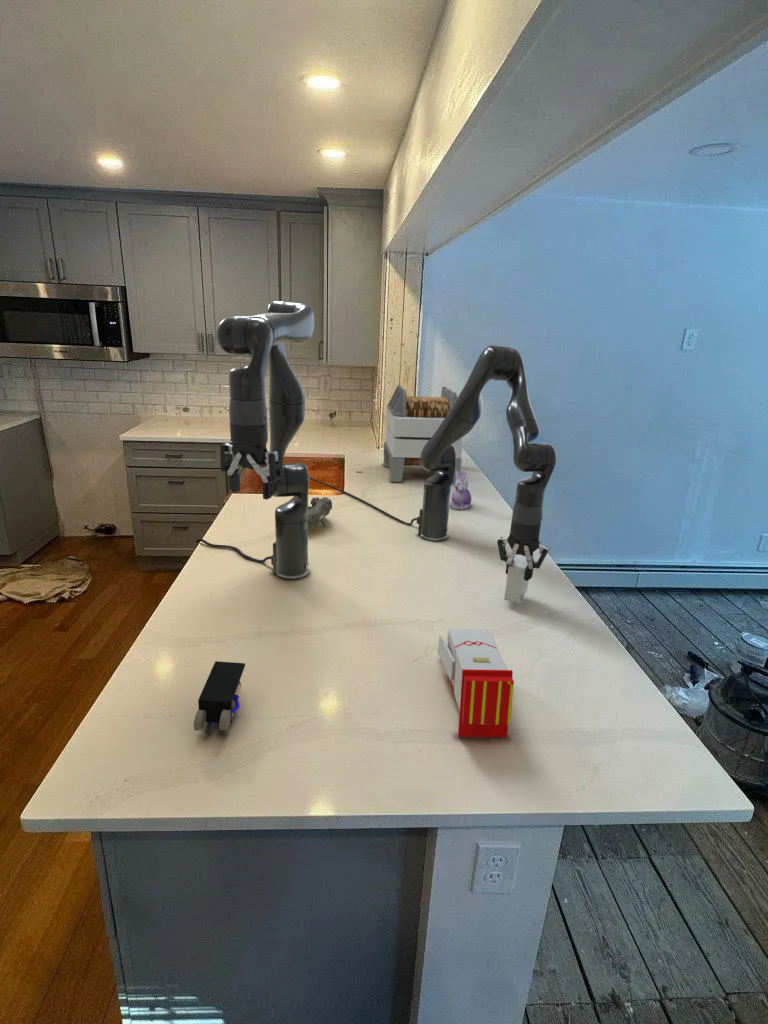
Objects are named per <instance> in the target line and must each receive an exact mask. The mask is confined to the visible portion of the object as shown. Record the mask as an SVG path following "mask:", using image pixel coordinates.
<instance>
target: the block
mask: <svg viewBox="0 0 768 1024" xmlns="http://www.w3.org/2000/svg"><path fill="white" fill-rule="evenodd" d="M527 568H528V564H527V561H526V556H523V555H517V554H516V555H515V557H514V559H513V561H512V562H511V564H510V565H509V567H508V574H506V575H507V576H506V584H505V592H504V599H503V600H505V601H509V602H513V603H517V604H521V603H522V600H523V599H524V597H525V595H526V593H527V592H528V588H529V582H530V581H529V580H530V579H529V580H528V581H526V573H527Z"/></svg>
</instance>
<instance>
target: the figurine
mask: <svg viewBox="0 0 768 1024" xmlns="http://www.w3.org/2000/svg"><path fill="white" fill-rule="evenodd" d="M466 478H467V470H466V469H464V470H463V471H462V473H461V474H460V473H459V471H456V481H455V483H453V485H454V491H453V492H452V493H451V500H450V507H451V508H452V509H454V510H461V511H462V510H467V509H468V508H470V507H471V502H472V495H471V492H470V491H469V489H468V487H469V483H468V480H467V479H466Z"/></svg>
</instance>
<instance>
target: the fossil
mask: <svg viewBox="0 0 768 1024" xmlns="http://www.w3.org/2000/svg"><path fill="white" fill-rule="evenodd" d="M310 505H311V506H309V505H308V533H309V532H311V531H312V530H314V529H315V528H316V527H317V526H318V525H319V524H322V525H323V526H324V527H325V526H326V524H325V523H324V519H325V518H326V517H327V516H329V514H330V512H331V510H332V509H333V501H332V500H331V499H330V498H328V497H327V496H325V497H321V498H320V497H312V498H311V500H310Z"/></svg>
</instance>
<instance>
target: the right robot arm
mask: <svg viewBox="0 0 768 1024" xmlns="http://www.w3.org/2000/svg"><path fill="white" fill-rule="evenodd" d="M489 381H497V382H498V381H499V382H505V383H506V384H507V386H508V388H509V391H510V395H509V398H508V402H507V405H506V409H505V418H506V422H507V425H508V427H509V431H510V434H511V437H512V461H513V464H514V466H515V467H516V469H517V470H518V471H520V472H523V473H532V474H531V475H530V476H528V477H525V478H522V479H520V480H519V481H518V482H517V484H516V490H515V499H514V504H513V507H512V515H511V520H510V521H511V522H510V530H509V535H508V537H503V536H499V538H498V539H497V541H496V543H497V548H498V554H499V559H500V561H502V562H505V563H506V566H505V574H506V575H508V567H509V565H510V564H511V562H512V561H513V559H514V558H515V556H516V555H521V556H525V557H526V561H527V564H528V568H527V573H526V581H528V580H531V579H532V578H533V575H534V574H533V573H534V569H540V568H541V566H542V564H543V562H544V560H545V558H546V556H547V554H548V553H549V551H550V547H549V546H544V545H542V544H541V542H540V533H541V532H540V531H541V526H542V520H543V509H544V508H543V506H544V497H545V492H546V488H547V486H548V485H549V482H550V479H551V477H552V474H553V472H554V470H555V467H556V465H557V462H558V461H557V460H558V455H557V454H558V453H557V451H556V448H555V447H554V446H553V445H552V444H551V443H542V442H541V443H531V442H533V441H535V440H537V439H538V437H539V436H540V433H541V430H540V425H539V423H538V421H537V418H536V415H535V413H534V410H533V407H532V405H531V400H530V395H529V391H528V384H527V378H526V372H525V366H524V362H523V358H522V355H521V353H520V351H518V350H517V349H516V348H513V347H509V346H502V345H495V344H491V345H490V344H489V345H487V346H486V347H483V349H482V351H481V352H480V353H479V355H478V357H477V359H476V361H475V362H474V365H473V367H472V369H471V371H470V374H469V375H468V378H467V380H466V381H465V384H464V385H463V387H462V389H461V390H460V392H459V394H458V395H457V399H456V400H455V402H454V403H453V405H452V407H451V408H450V410H449V412H448V413H447V415H446V417H445V419H444V420H443V422H442V423H441V425H440V426H439V428H438V429H437V431H436V432H435V433H434V435H433V436H432V437H431V439H430V440H429V441H428V442H427V443H426V445H425V446H424V448H423V450H422V452H421V456H420V462H421V466H420V467H422V469H423V470H424V471H427V472H434V473H433V474H432V475H431V476H429V477H428V478H426V479H425V480H424V482H423V493H422V496H423V497H422V506H421V508H420V509H419V516H417V517H413V518H412V519H411V520H410V522H406V521H403V520H402V519H400V518H398V517H396V516H394V515H392V514H390V513H388V512H386V511H385V510H383V509H381V508H379V507H377V506H375V505H374V504H371V503H370V502H367V501H366V500H364V499H362V498H360V497H357V496H356V495H354V494H352V493H350V492H347V491H345V490H343V489H341V488H338V487H335V486H333V485H331V484H328V483H326V482H323V481H320V480H318V479H315V478H313V477H310V476H309V480H311V481H314V482H316V483H318V484H320V485H323V486H326V487H329V488H332V489H333V490H336V491H338V492H340V493H343V494H345V495H347V496H349V497H352V498H354V499H356V500H358V501H360V502H361V503H364V504H366V505H368V506H369V507H372V508H373V509H375V510H377V511H378V512H380V513H382V514H384V515H386V516H387V517H389V518H392V519H393V520H395V521H398V522H399V523H401V524H403V525H406V526H412V525H413V524H414V522H415V521H416V524H417V525H418V530H417V535H418V536H420V538H421V539H424V540H426V541H432V542H440V541H444V540H446V539H447V538H448V531H449V527H448V525H449V517H450V516H449V514H450V506H451V494H452V493H451V491H452V486H453V485H454V483H453V480H454V473H455V466H456V451H455V448H454V446H453V445H452V444H453V443H455V442H456V441H458V440H459V439H461V440H462V439H463V438H464V437H465V436H466V435H468V434H470V433H471V431H472V430H473V429H474V428H475V427H476V425H477V424H478V422H479V421H480V419H481V417H482V415H483V411H484V402H483V397H482V396H483V395H482V393H483V390H484V388H485V386H486V385H487V383H488V382H489ZM462 437H463V438H462ZM507 544H508V546H509V548H510V549H511V551H510V553H509V555H508V553H507V549H506V546H507ZM537 550H539V551H538V553H539V558H538V559H537V561H535V558H534V557H535V556H534V555H535V554H534V553H535V552H536V551H537ZM528 582H529V581H528Z"/></svg>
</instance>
